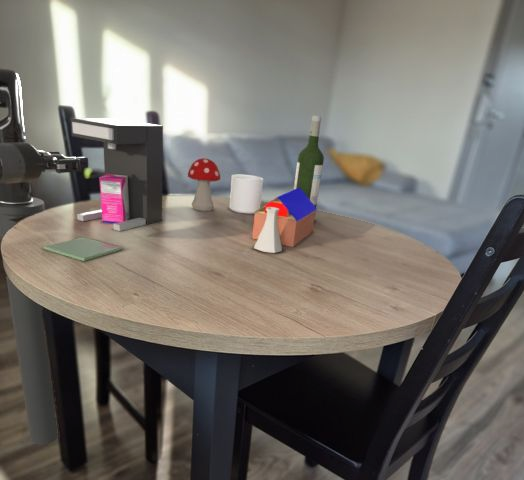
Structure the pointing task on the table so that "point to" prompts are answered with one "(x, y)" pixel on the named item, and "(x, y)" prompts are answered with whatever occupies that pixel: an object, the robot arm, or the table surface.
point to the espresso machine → (129, 164)
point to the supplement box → (114, 198)
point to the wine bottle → (310, 164)
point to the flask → (269, 233)
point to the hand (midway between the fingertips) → (72, 159)
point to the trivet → (82, 248)
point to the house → (288, 217)
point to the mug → (245, 193)
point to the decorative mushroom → (203, 182)
